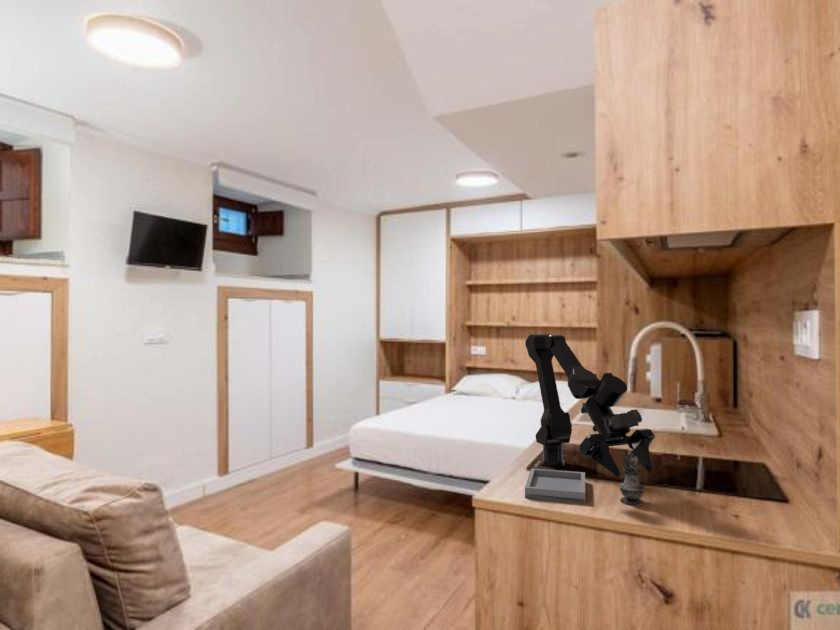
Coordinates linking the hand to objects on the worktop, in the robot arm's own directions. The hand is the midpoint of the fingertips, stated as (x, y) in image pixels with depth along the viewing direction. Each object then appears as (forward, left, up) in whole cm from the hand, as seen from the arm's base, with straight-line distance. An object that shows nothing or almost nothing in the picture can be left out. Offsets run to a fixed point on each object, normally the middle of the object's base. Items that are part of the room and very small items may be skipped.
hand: (635, 473), depth 119 cm
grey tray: (-5, -18, -7) cm, 20 cm away
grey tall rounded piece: (-1, -1, -7) cm, 7 cm away
